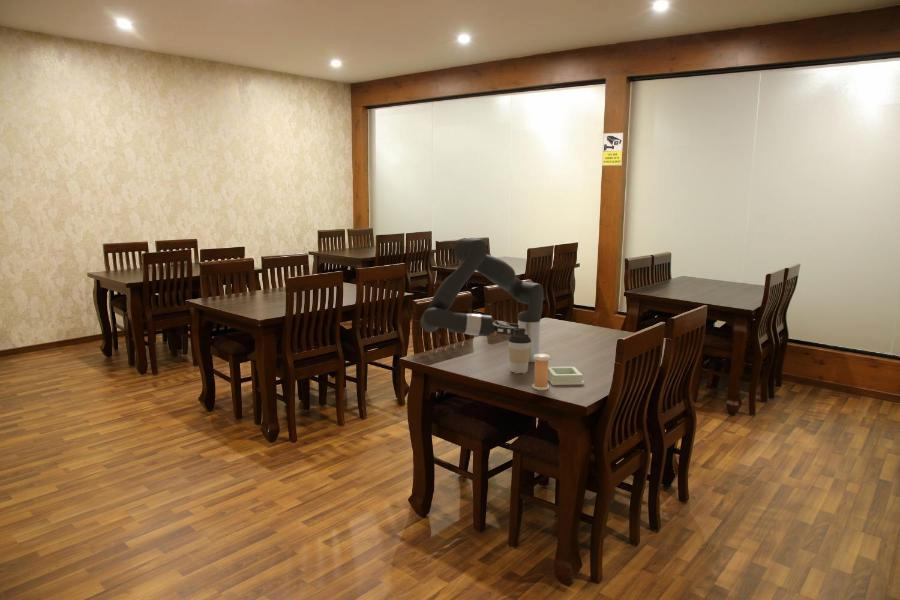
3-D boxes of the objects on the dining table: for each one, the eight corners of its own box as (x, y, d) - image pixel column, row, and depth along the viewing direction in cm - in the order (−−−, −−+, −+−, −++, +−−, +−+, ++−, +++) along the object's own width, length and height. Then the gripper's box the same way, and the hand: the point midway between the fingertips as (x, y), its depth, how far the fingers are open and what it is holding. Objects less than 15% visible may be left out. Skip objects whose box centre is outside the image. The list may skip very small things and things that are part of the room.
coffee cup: (528, 367, 243) (529, 331, 240) (532, 374, 234) (533, 337, 231) (506, 367, 243) (507, 331, 240) (509, 374, 234) (510, 337, 231)
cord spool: (530, 385, 221) (531, 353, 219) (546, 385, 221) (548, 353, 219) (534, 390, 215) (535, 358, 213) (550, 390, 215) (552, 358, 213)
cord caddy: (544, 375, 233) (544, 366, 233) (574, 374, 234) (575, 366, 234) (552, 384, 221) (552, 375, 221) (583, 384, 222) (584, 375, 222)
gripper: (483, 317, 203) (528, 322, 206) (474, 311, 217) (517, 315, 220) (480, 339, 204) (525, 343, 207) (472, 331, 218) (514, 335, 221)
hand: (521, 329), depth 213 cm, fingers open, 8 cm apart
